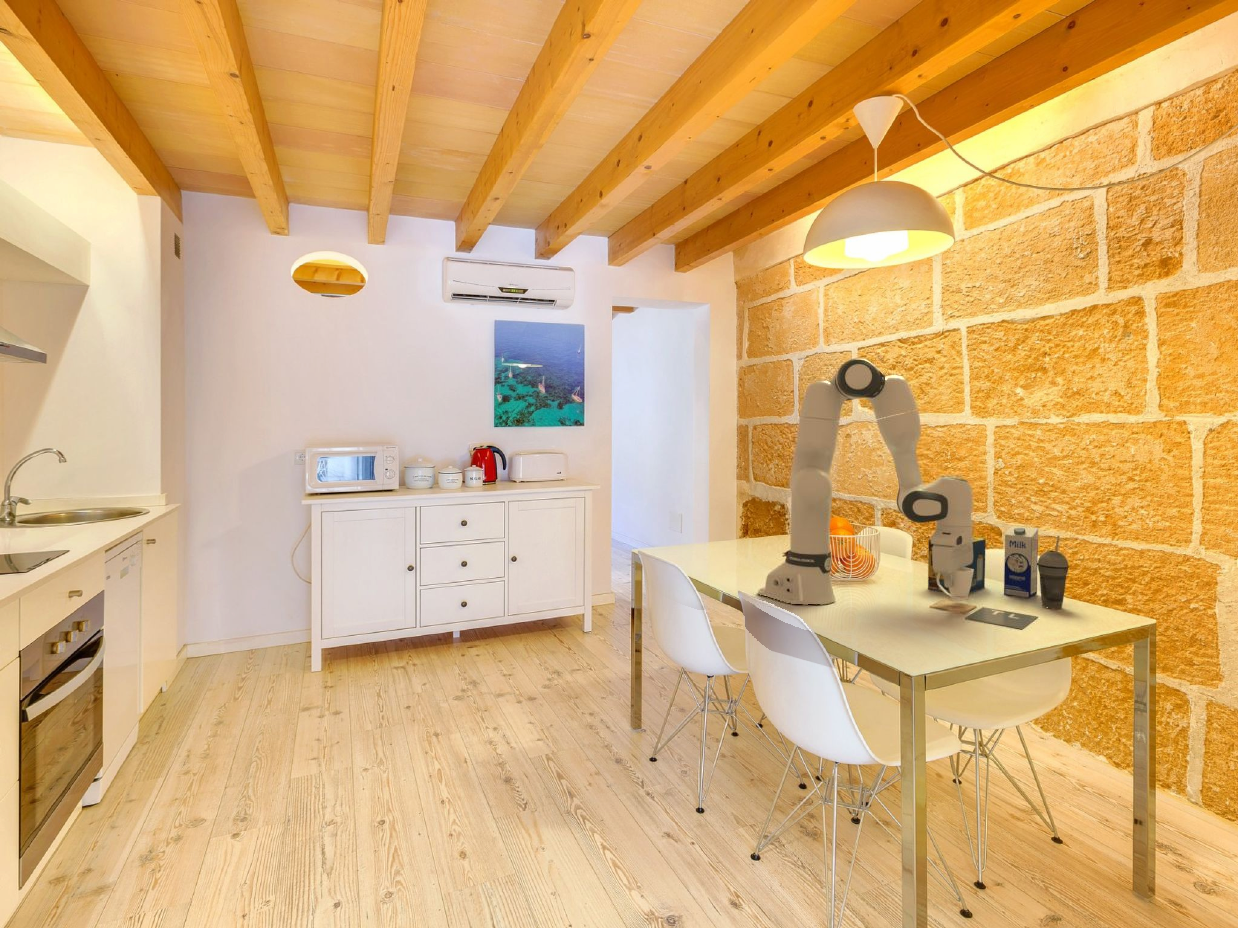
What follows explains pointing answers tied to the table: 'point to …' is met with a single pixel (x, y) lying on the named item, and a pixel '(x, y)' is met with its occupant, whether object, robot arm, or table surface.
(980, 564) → the protein box
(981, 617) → the tile
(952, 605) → the cork pad
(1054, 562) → the beverage cup
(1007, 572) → the milk carton
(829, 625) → the table surface
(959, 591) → the cup
